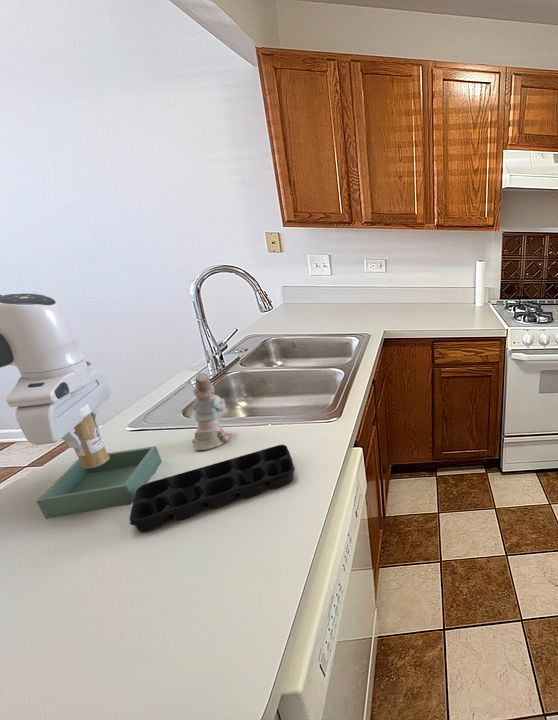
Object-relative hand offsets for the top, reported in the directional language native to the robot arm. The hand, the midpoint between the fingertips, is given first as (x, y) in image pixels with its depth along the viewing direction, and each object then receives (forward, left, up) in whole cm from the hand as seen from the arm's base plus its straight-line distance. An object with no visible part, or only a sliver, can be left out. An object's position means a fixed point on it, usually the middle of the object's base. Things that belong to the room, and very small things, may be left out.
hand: (85, 438), depth 82 cm
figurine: (+17, +13, -13) cm, 25 cm away
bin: (0, 0, -13) cm, 13 cm away
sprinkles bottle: (0, 0, -6) cm, 6 cm away
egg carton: (+24, -9, -13) cm, 29 cm away
